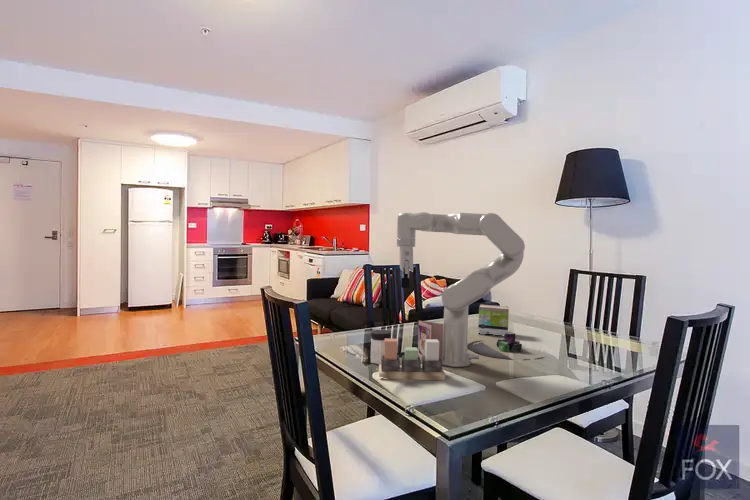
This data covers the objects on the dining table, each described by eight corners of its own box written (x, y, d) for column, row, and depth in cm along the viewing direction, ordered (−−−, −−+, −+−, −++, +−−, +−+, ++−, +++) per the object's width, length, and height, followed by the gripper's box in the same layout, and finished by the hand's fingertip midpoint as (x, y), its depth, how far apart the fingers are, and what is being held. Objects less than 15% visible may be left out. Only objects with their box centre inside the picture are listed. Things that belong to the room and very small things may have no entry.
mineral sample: (555, 363, 174) (555, 340, 174) (467, 356, 181) (467, 334, 181) (539, 348, 208) (540, 329, 208) (466, 342, 215) (466, 324, 215)
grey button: (436, 358, 157) (437, 339, 157) (438, 361, 153) (439, 342, 152) (424, 358, 157) (425, 339, 157) (426, 361, 153) (426, 342, 152)
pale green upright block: (416, 366, 157) (416, 347, 157) (417, 370, 153) (418, 350, 152) (404, 366, 157) (404, 347, 157) (405, 369, 153) (405, 350, 152)
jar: (365, 362, 169) (366, 332, 169) (375, 357, 176) (376, 328, 176) (385, 365, 165) (386, 335, 165) (395, 360, 172) (395, 331, 172)
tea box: (477, 334, 224) (478, 306, 223) (479, 330, 233) (479, 303, 233) (507, 337, 219) (508, 308, 219) (507, 333, 229) (508, 305, 228)
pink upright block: (396, 357, 157) (396, 338, 157) (396, 361, 152) (397, 341, 152) (384, 357, 157) (384, 338, 157) (384, 360, 152) (384, 341, 152)
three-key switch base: (440, 370, 160) (440, 354, 160) (445, 380, 149) (445, 363, 149) (378, 369, 160) (379, 353, 160) (379, 379, 149) (379, 361, 149)
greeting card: (416, 355, 181) (416, 320, 181) (431, 354, 184) (432, 319, 183) (428, 363, 170) (429, 325, 170) (444, 361, 173) (445, 324, 172)
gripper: (417, 243, 168) (416, 290, 169) (413, 243, 183) (412, 285, 184) (398, 243, 168) (397, 289, 169) (395, 242, 183) (394, 285, 183)
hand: (405, 287), depth 176 cm, fingers closed
